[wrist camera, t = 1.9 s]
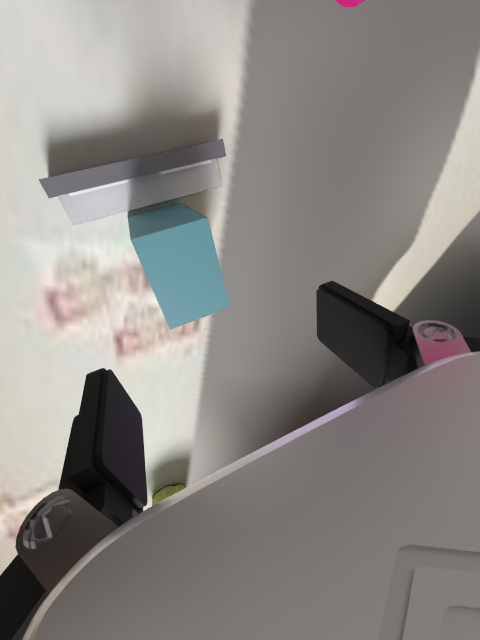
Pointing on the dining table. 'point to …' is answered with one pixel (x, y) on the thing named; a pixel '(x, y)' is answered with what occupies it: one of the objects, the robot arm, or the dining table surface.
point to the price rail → (136, 182)
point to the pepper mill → (349, 2)
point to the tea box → (179, 262)
